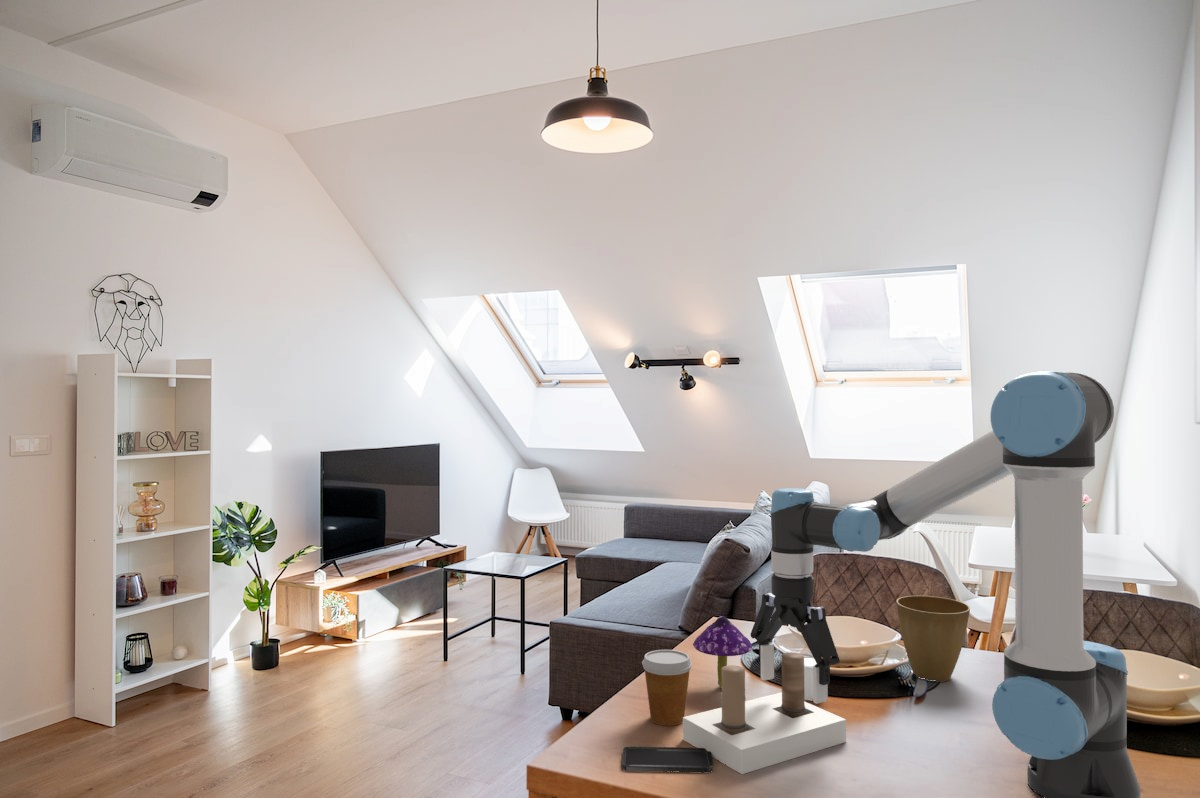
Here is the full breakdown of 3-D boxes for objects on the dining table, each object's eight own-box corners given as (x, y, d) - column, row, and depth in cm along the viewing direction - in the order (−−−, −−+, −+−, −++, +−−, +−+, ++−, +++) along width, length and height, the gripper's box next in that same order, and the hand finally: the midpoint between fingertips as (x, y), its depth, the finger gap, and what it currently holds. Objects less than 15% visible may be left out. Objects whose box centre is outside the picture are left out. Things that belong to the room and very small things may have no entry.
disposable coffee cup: (634, 723, 156) (633, 660, 156) (654, 706, 164) (654, 646, 164) (681, 733, 151) (680, 667, 151) (699, 715, 160) (699, 653, 160)
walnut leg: (810, 734, 151) (809, 657, 151) (793, 739, 148) (792, 661, 148) (793, 726, 154) (793, 651, 154) (776, 731, 152) (776, 654, 152)
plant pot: (898, 684, 176) (898, 609, 176) (895, 663, 190) (894, 593, 190) (975, 691, 171) (974, 614, 171) (965, 669, 186) (965, 597, 186)
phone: (713, 768, 135) (621, 766, 136) (713, 775, 135) (621, 772, 136) (710, 747, 143) (623, 745, 144) (710, 754, 143) (623, 752, 144)
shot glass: (827, 702, 166) (827, 667, 166) (792, 700, 167) (792, 665, 167) (825, 690, 173) (825, 657, 173) (791, 688, 174) (791, 655, 174)
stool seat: (846, 741, 147) (845, 663, 147) (741, 774, 135) (741, 688, 135) (782, 712, 161) (782, 640, 161) (682, 739, 149) (682, 661, 148)
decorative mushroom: (750, 678, 180) (750, 609, 180) (755, 699, 168) (754, 625, 168) (692, 676, 182) (692, 607, 182) (693, 697, 169) (692, 623, 169)
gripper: (860, 584, 142) (860, 707, 143) (761, 560, 164) (762, 667, 164) (828, 590, 139) (829, 716, 139) (732, 564, 160) (732, 673, 160)
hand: (792, 690), depth 151 cm, fingers open, 13 cm apart
